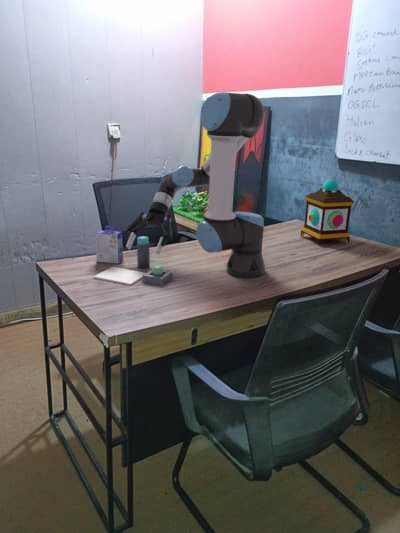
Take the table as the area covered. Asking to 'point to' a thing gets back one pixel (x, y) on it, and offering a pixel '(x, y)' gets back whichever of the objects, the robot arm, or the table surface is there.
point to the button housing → (157, 278)
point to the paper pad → (120, 275)
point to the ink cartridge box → (109, 246)
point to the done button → (157, 270)
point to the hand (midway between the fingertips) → (142, 250)
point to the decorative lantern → (327, 213)
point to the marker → (143, 252)
